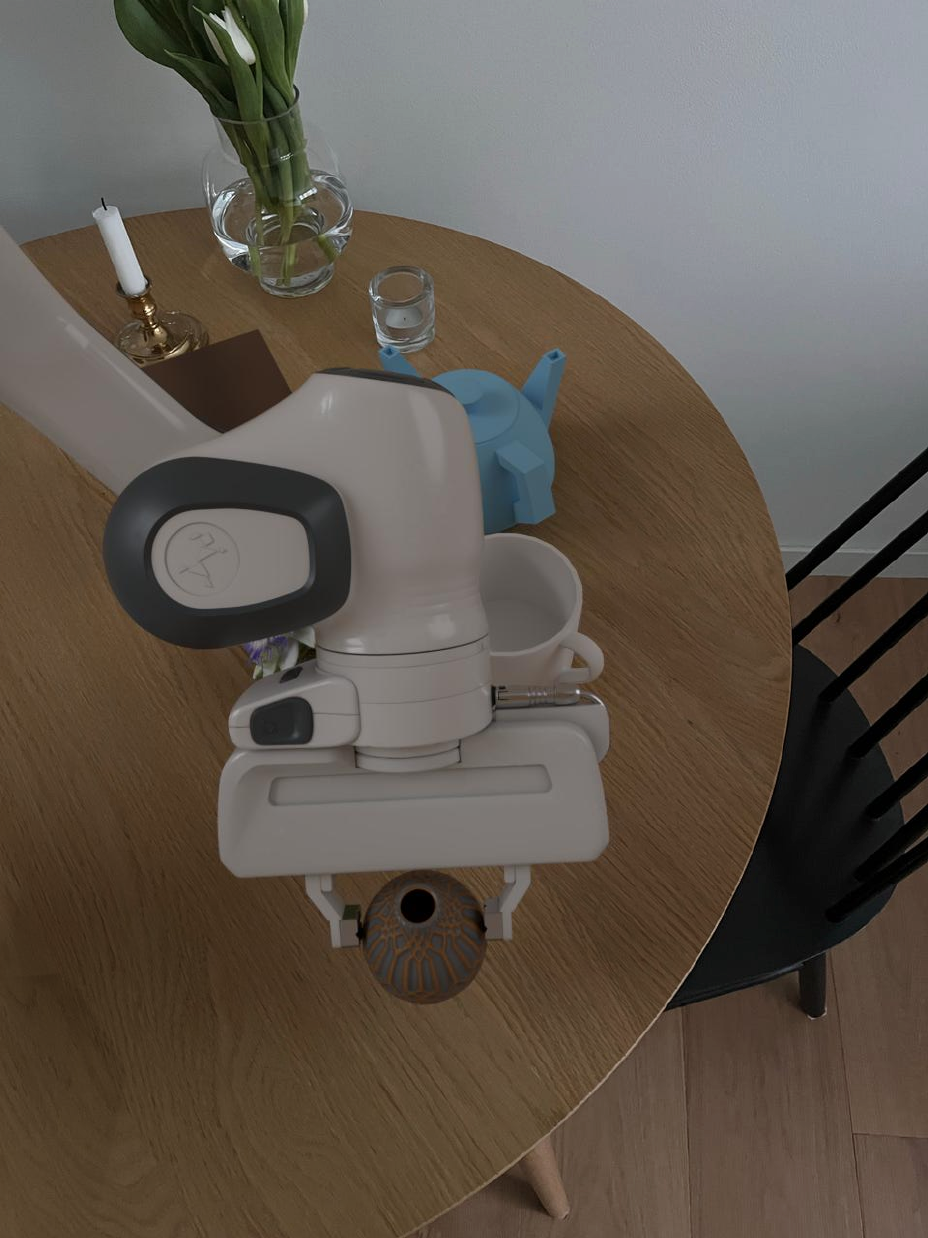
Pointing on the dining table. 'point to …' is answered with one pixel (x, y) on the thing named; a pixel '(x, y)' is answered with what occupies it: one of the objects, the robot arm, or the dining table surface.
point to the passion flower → (280, 651)
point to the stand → (224, 380)
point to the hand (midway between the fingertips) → (422, 939)
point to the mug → (533, 614)
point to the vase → (424, 937)
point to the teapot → (505, 435)
